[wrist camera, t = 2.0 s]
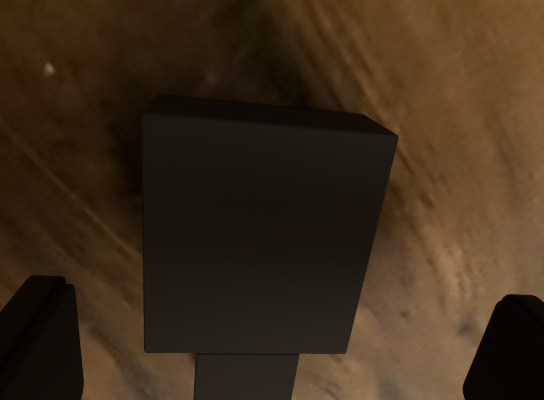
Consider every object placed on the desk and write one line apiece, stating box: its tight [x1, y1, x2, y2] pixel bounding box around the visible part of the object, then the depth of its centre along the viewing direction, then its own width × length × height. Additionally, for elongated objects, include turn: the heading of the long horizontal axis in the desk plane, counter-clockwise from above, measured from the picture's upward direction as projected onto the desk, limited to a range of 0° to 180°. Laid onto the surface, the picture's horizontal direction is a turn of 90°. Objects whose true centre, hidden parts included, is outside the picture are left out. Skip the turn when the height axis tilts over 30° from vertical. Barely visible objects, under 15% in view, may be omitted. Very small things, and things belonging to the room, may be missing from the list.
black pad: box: [141, 95, 398, 400], centre depth 14 cm, size 7×12×3 cm, turn 173°
